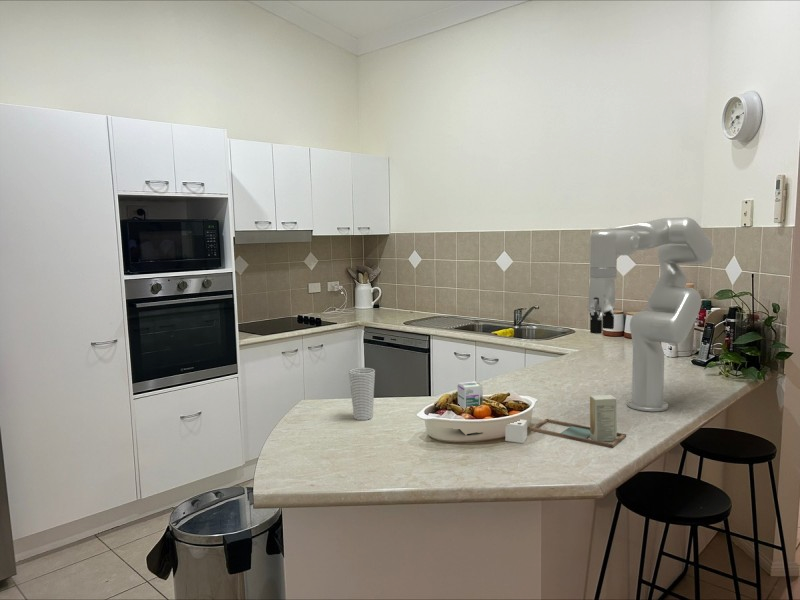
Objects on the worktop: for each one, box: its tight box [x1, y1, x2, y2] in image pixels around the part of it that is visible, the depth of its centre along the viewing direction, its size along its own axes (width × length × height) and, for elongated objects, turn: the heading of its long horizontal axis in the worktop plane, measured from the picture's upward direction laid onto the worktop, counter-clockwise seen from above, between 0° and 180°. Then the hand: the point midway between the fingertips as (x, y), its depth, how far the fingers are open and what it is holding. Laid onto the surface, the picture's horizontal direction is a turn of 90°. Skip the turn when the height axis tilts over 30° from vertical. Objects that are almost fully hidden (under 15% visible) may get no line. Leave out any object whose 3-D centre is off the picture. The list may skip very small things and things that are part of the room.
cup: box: [348, 367, 376, 421], centre depth 186 cm, size 8×8×16 cm
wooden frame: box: [530, 418, 627, 449], centre depth 167 cm, size 11×24×1 cm, turn 50°
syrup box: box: [456, 380, 484, 409], centre depth 170 cm, size 6×6×14 cm
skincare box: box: [589, 394, 618, 442], centre depth 161 cm, size 6×4×12 cm
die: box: [504, 419, 528, 444], centre depth 163 cm, size 5×5×5 cm
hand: (602, 330), depth 172 cm, fingers open, 9 cm apart
